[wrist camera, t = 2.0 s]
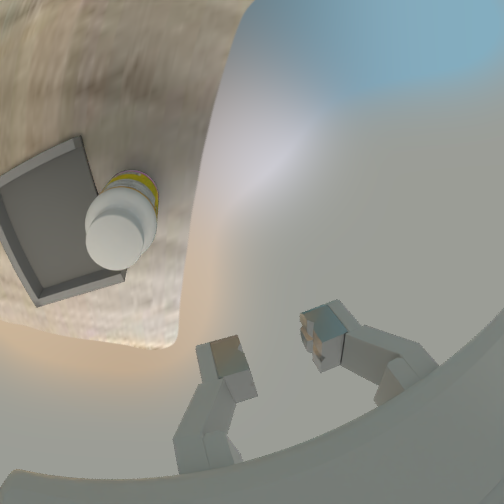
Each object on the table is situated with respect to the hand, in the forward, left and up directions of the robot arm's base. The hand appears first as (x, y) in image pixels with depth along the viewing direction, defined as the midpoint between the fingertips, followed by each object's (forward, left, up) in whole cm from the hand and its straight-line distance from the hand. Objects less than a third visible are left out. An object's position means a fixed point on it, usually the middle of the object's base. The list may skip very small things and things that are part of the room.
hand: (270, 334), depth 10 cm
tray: (-19, 0, -25) cm, 32 cm away
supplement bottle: (-8, 0, -25) cm, 27 cm away
